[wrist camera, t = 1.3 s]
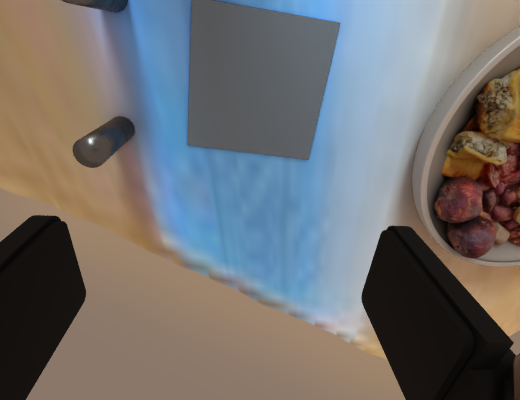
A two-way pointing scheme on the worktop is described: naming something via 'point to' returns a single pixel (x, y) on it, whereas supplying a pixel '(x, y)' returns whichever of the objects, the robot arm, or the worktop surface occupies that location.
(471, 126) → the bowl
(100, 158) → the post
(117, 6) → the post
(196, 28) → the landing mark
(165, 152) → the worktop surface
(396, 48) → the worktop surface
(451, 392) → the robot arm
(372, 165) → the worktop surface
